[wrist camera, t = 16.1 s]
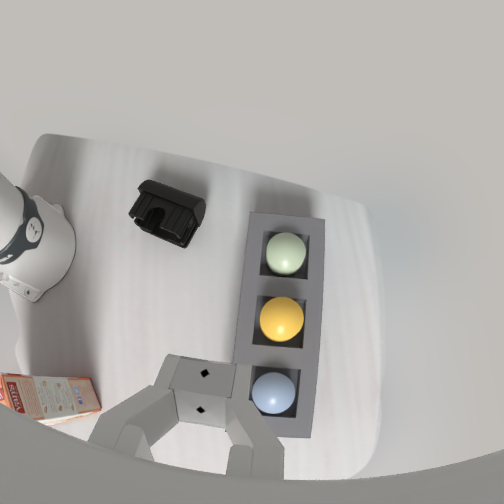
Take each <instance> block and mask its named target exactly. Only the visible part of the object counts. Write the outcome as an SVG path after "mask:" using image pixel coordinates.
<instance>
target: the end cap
mask: <svg viewBox="0 0 504 504" xmlns="http://www.w3.org/2000/svg"><path fill="white" fill-rule="evenodd" d="M138 190H139V192H140V193H141V194H140V196H139V197H138V199H137V200H136V202H135V204H134V205H133V207H132V209H131V210H130V212H129V213H128V214H129V216H130V217H131V218H134V217H136V219H135V220H134V222H135V224H136V225H137V226H139V227H140V228H141V229H142V230H143V231H145V232H147V233H150V234H152V235H154V236H156V237H159V238H161V239H163V240H166V241H168V242H170V243H172V244H175V245H177V246H179V247H182V248H187V247H188V245H189V243H190V241H191V239H192V237H193V236H194V234H195V232H196V230H197V228H198V227H200V225H201V223H202V220H203V218H204V214H205V209H206V204H205V201H204V200H203V199H201V198H199V197H196V196H193V195H191V194H188V193H185V192H183V191H180V190H177V189H175V188H172V187H169V186H166V185H164V184H161V183H158V182H155V181H152V180H146V181H144V182H143V183H141V185H140V186H139V187H138Z"/></svg>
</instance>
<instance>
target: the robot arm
mask: <svg viewBox="0 0 504 504" xmlns="http://www.w3.org/2000/svg"><path fill="white" fill-rule="evenodd" d="M75 245H76V241H75V234H74V231H73V228H72V226H71V225H70V223H69V222H68V221H67V220H66V218H65V215H64V211H63V208H62V206H60V205H59V204H54V205H50V204H49V203H47V202H46V201H45V200H43V199H42V198H41V197H39V196H38V195H34V196H30V195H29V194H28V193H27V192H26V191H24V190H22V189H21V188H19V187H17V186H14V185H13V184H12V183H11V182H10V181H9V180H8V179H7V178H6V177H5V176H3V174H1V173H0V283H2V284H3V285H5V286H7V287H8V288H10V289H11V290H13V291H14V292H16V293H18V294H19V295H21V296H23V297H24V298H26V299H28V300H30V301H31V302H36V301H37V300H38V299H39V298H40V297H41V296H42V294H43V293H44V292H45V291H46V290H47V289H49V288H51V287H53V286H54V285H55V284H57V283H58V282H59V281H60V280H61V279H62V278H63V277H64V275H65V274H66V272H67V271H68V269H69V267H70V265H71V263H72V260H73V257H74V253H75ZM29 292H30V293H29ZM251 369H252V365H245V364H235V363H226V362H217V361H208V360H202V359H196V358H190V357H184V356H177V355H172V354H168V355H167V356H166V357H165V360H164V362H163V364H162V367H161V369H160V371H159V374H158V376H157V379H156V381H155V383H154V386H152V385H149V386H147V387H146V388H144V389H143V390H141V391H139V392H138V393H136V394H135V395H133V396H131V397H130V398H128V399H126V400H125V401H123V402H121V403H120V404H118V405H117V406H115V407H113V408H112V409H110V410H108V411H107V412H105V413H103V414H101V415H100V417H99V419H98V421H97V423H96V425H95V427H94V429H93V431H92V433H91V435H90V437H89V439H88V441H84V440H81V439H78V438H76V437H73V436H71V435H68V434H66V433H63V432H61V431H58V430H56V429H53V428H51V427H49V426H47V425H44V424H42V423H40V422H38V421H36V420H33V419H31V418H29V417H27V416H25V415H23V414H21V413H19V412H17V411H15V410H13V409H11V408H9V407H7V406H6V405H4V404H2V403H0V504H504V450H500V451H497V452H494V453H491V454H488V455H485V456H481V457H477V458H474V459H470V460H467V461H463V462H459V463H455V464H450V465H446V466H442V467H438V468H432V469H427V470H422V471H417V472H410V473H404V474H396V475H389V476H380V477H372V478H371V477H370V478H359V479H342V480H284V446H283V445H282V444H281V442H280V441H279V439H278V438H277V437H276V435H275V434H274V432H273V431H272V430H271V428H270V427H269V425H268V424H267V422H266V421H265V419H264V418H263V416H262V415H261V414H260V412H259V411H258V409H257V408H256V406H255V405H254V403H253V402H252V401H250V400H249V390H250V379H251ZM178 421H181V422H188V423H194V424H202V425H207V426H213V427H219V428H226V431H227V433H228V436H229V438H230V440H231V442H232V443H233V446H232V447H230V453H229V459H228V464H227V470H226V475H223V474H216V473H209V472H203V471H197V470H191V469H186V468H181V467H176V466H171V465H166V464H162V463H157V462H155V461H154V458H153V456H152V453H151V451H150V447H151V446H152V445H153V444H154V443H156V442H157V441H158V440H159V439H160V438H161V437H163V436H164V435H165V434H166V433H167V432H168V431H169V430H171V429H172V428H173V427H174V426H175V425H176V424H177V423H178Z"/></svg>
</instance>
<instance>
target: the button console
mask: <svg viewBox="0 0 504 504" xmlns="http://www.w3.org/2000/svg"><path fill="white" fill-rule="evenodd" d="M279 233H292V234H294V235H296V236H298V237H299V238H300V239H301V240H302V241H303V243H304V245H305V248H306V255H305V258H304V261H303V263H302V265H301V267H300V269H299V271H298V272H297V273H296V274H294V275H293V276H290V277H278V276H276V275H274V274H273V273H271V272H270V270H269V269H268V267H267V265H266V251H267V245H268V243H269V241H270V240H271V238H272V237H274V236H275V235H277V234H279ZM324 251H325V219H318V218H308V217H298V216H288V215H278V214H267V213H256V212H250V219H249V227H248V235H247V244H246V252H245V261H244V269H243V278H242V287H241V295H240V304H239V313H238V321H237V330H236V339H235V348H234V357H233V363H235V364H245V365H252V369H251V379H250V390H249V400H250V401H252V402H253V403H254V401H253V397H252V389H253V385H254V383H255V381H256V380H257V378H259V377H260V376H261V375H263V374H265V373H268V372H277V373H280V374H283V375H285V376H286V377H288V378H289V379H290V380H291V381H292V383H293V385H294V388H295V398H294V401H293V403H292V404H291V406H290V407H289V408H288V409H286V410H285V411H283V412H280V413H275V414H271V413H266V412H264V411H262V410H260V409H259V408H258V407H257V406H256V404H255V403H254V405H255V406H256V408H257V409H258V411H259V412H260V414H261V415H262V416H263V418H264V419H265V421H266V422H267V424H268V425H269V427H270V428H271V430H272V431H273V432H274V434H275V435H276V437H289V438H311V430H312V422H313V413H314V404H315V395H316V384H317V374H318V362H319V350H320V336H321V321H322V303H323V282H324ZM276 297H287V298H290V299H292V300H294V301H295V302H297V303H298V304H299V306H300V307H301V309H302V311H303V316H304V321H303V325H302V328H301V329H300V331H299V332H298V333H297V334H296V335H295V336H294V337H292V338H291V339H289V340H287V341H284V342H275V341H272V340H270V339H268V338H267V337H266V336H265V335H264V334H263V333H262V331H261V328H260V314H261V311H262V308H263V307H264V305H265V304H266V303H267V302H268V301H270V300H271V299H273V298H276ZM225 432H227V431H226V429H225Z"/></svg>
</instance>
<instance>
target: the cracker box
mask: <svg viewBox="0 0 504 504" xmlns="http://www.w3.org/2000/svg"><path fill="white" fill-rule="evenodd" d="M0 403H2V404H4V405H6V406H7V407H9V408H11V409H13V410H15V411H17V412H19V413H21V414H23V415H25V416H27V417H29V418H31V419H33V420H36V421H38V422H40V423H42V424H44V425H47V426H50V425H54V424H58V423H62V422H65V421H69V420H72V419H76V418H79V417H83V416H86V415H89V414H92V413H95V412H98V411H101V407H100V405H99V402H98V399H97V397H96V394H95V391H94V388H93V386H92V383H91V380H90V378H70V377H48V376H31V375H20V374H9V373H0Z"/></svg>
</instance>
